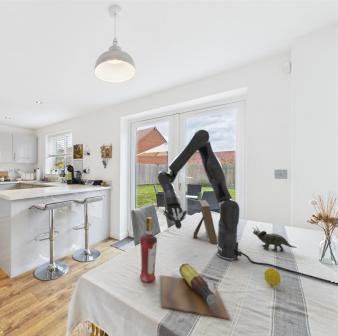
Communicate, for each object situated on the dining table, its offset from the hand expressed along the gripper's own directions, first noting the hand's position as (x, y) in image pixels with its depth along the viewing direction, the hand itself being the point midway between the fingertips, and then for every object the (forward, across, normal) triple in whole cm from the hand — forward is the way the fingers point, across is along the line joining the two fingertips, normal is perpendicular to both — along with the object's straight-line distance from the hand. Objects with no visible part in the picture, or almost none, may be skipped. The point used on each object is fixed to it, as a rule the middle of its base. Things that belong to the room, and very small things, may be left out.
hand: (179, 227), depth 100 cm
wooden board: (+30, -4, -2) cm, 30 cm away
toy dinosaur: (+1, +67, +27) cm, 73 cm away
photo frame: (-14, +33, +42) cm, 55 cm away
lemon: (+26, +35, +2) cm, 44 cm away
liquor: (+22, -19, +5) cm, 30 cm away
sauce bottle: (+18, -1, +4) cm, 19 cm away
